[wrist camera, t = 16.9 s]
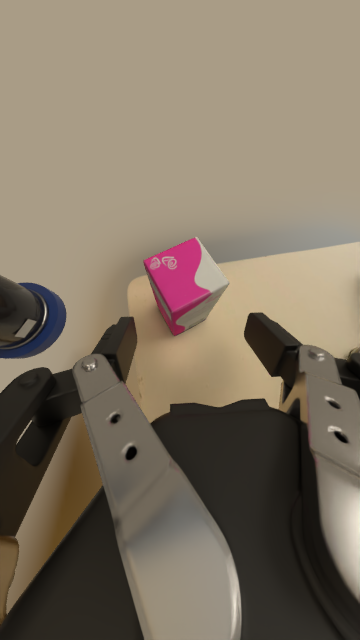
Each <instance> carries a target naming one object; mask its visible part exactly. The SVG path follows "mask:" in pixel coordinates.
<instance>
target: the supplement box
mask: <svg viewBox="0 0 360 640" xmlns="http://www.w3.org/2000/svg"><path fill="white" fill-rule="evenodd" d="M144 266H145V269H146V272H147V275H148V278H149V281H150V284H151V287H152V290H153V293H154V296H155V299H156V302H157V306H158V308H159V310H160V311H161V313H162V315H163V317H164V319H165V321H166V323H167V324H168V326H169V328H170V330H171V332H172V334H173V335H174V336H176V335H178V334H180V333H182V332H184V331H186V330H188V329H190V328H191V327H193V326H195V325H197V324H199V323H200V322H202V321H204V320H205V319H206V318H207V316H208V314H209V313H210V311H211V310H212V309H213V307H214V306H215V304H216V303H217V301H218V300H219V298H220V297H221V295H222V294H223V292H224V291H225V289H226V288H227V286H228V285H229V281H228V280H227V278H226V277H225V276H224V274H223V273H222V272H221V270H220V269H219V268H218V266H217V265H216V263H215V262H214V261H213V259H212V258H211V256H210V255H209V253H208V252H207V251H206V249H205V248H204V246H203V245H202V243H201V242H200V241H199V239H198V238H197V237H195V238H193V239H190V240H188V241H186V242H184V243H181V244H179V245H177V246H175V247H173V248H170V249H168V250H166V251H164V252H162V253H159V254H157V255H155V256H152V257H150V258H148V259H146V260H144Z"/></svg>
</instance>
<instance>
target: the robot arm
mask: <svg viewBox="0 0 360 640" xmlns="http://www.w3.org/2000/svg"><path fill="white" fill-rule="evenodd" d="M48 318H49V306H48V304H47V301H46V300H45V298H44V297H43V296H42V295H40V294H39V293H37V292H35V291H33V290H30V289H27V288H25V287H23V286H21V285H19V284H17V283H15V282H13V281H11V280H9V279H7V278H5V277H3V276H1V275H0V349H15V348H19V347H22V346H25V345H27V344H28V343H30V342H32V341H33V340H34V339H36V338H37V337H38V336H39V335H40V334H41V332H42V331H43V330H44V328H45V326H46V324H47V322H48ZM244 337H245V340H246V341H247V343H248V344H249V346H250V347H251V348H252V350H253V351H254V353H255V354H256V355H257V357H258V358H259V360H260V361H261V363H262V364H263V365H264V367H265V368H266V370H267V371H268V373H269V374H270V375H271V377H277V376H281V377H282V379H283V381H282V383H281V392H280V401H279V409H275V408H272V407H269V406H268V404H267V402H266V400H265V399H248V400H240V401H237V402H235V403H232V404H229V405H226V406H224V407H213V406H208V405H203V404H198V403H181V404H170V412H169V413H166V414H164V415H162V416H160V417H158V418H157V419H155V420H154V421H153V422H152V423H149V421H148V420H147V418H146V417H145V415H144V413H143V412H142V410H141V409H140V407H139V405H138V404H137V402H136V401H135V399H134V398H133V396H132V394H131V393H130V391H129V390H128V388H127V386H126V385H125V383H126V380H127V376H128V373H129V370H130V366H131V363H132V359H133V356H134V352H135V349H136V345H137V333H136V328H135V322H134V318H133V317H121V318H120V320H119V322H118V323H117V324H116V325H112V326H111V327H109V328H108V329H107V330H106V332H105V333H104V335H103V336H102V338H101V340H100V341H99V343H98V344H97V346H96V347H95V349H94V350H93V352H92V353H91V355H88V356H85V357H83V358H82V359H80V360H79V361H78V362H76V364H75V365H74V366H73V369H70V370H66V371H63V372H59V373H55V374H52V372H51V371H50V370H49V369H48V368H44V367H41V368H36V369H33V370H29V371H27V372H25V373H23V374H21V375H20V376H18V377H17V378H16V379H14V380H13V381H12V382H11V383H10V384H9V385H8V386H7V387H6V388H5V389H4V390H3V391H2V392H1V393H0V640H360V353H358V352H356V353H352V354H351V355H350V356H349V358H348V359H347V360H343V359H337V358H334V357H333V356H332V355H331V354H330V353H328V352H327V351H325V350H323V349H321V348H319V347H316V346H312V345H303V344H301V343H300V342H299V341H298V340H297V339H296V338H294V337H293V336H292V335H291V334H290V333H288V332H287V331H286V330H285V329H284V328H283V327H281V326H280V325H279V324H278V323H276V322H274V321H272V320H270V319H269V318H268V317H267V316H266V315H265V314H263V313H250V314H249V316H248V319H247V323H246V327H245V331H244ZM80 413H82V414H83V418H84V421H85V424H86V427H87V431H88V435H89V438H90V441H91V445H92V448H93V452H94V455H95V459H96V462H97V466H98V469H99V472H100V476H101V479H102V483H103V486H102V487H101V489H100V490H99V491H98V493H97V494H96V495H95V496H94V498H93V499H92V500H91V502H90V503H89V505H88V506H87V507H86V508H85V510H84V511H83V513H82V514H81V515H80V517H79V518H78V519H77V521H76V522H75V523H74V525H73V526H72V527H71V529H70V530H69V531H68V533H67V534H66V535H65V537H64V538H63V539H62V541H61V542H60V544H59V545H58V546H57V548H56V549H55V550H54V552H53V553H52V554H51V556H50V557H49V558H48V560H47V561H46V562H45V564H44V565H43V566H42V568H41V569H40V571H39V572H38V573H37V574H36V576H35V577H34V578H33V580H32V581H31V582H30V584H29V585H28V587H27V588H26V589H25V591H24V592H23V593H22V595H21V596H20V597H19V599H18V600H17V601H16V603H15V604H14V606H13V607H12V609H11V610H10V612H9V613H8V615H7V614H6V602H7V594H8V591H9V588H10V586H11V584H12V581H13V579H14V575H15V569H16V566H17V561H18V555H19V544H18V541H17V539H16V538H15V536H16V534H17V532H18V530H19V527H20V525H21V523H22V521H23V519H24V517H25V515H26V512H27V510H28V508H29V506H30V504H31V502H32V500H33V498H34V495H35V493H36V491H37V489H38V487H39V485H40V482H41V481H42V478H43V476H44V474H45V472H46V470H47V468H48V466H49V464H50V461H51V459H52V457H53V455H54V453H55V451H56V449H57V447H58V444H59V442H60V440H61V438H62V436H63V434H64V431H65V430H66V427H67V425H68V423H69V421H70V419H71V417H72V416H75V415H78V414H80ZM30 420H32V422H31V424H30V425H29V427H28V428H27V430H26V431H25V433H24V434H23V436H22V437H21V439H20V440H19V442H18V443H17V441H18V439H19V437H20V435H21V434H22V432H23V431H24V429H25V428H26V426H27V425H28V423H29V422H30ZM16 443H17V445H16Z"/></svg>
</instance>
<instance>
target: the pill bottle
mask: <svg viewBox="0 0 360 640" xmlns="http://www.w3.org/2000/svg"><path fill="white" fill-rule="evenodd" d="M356 352H358V353H360V347H359V348H356V349H354V350H353V351H352V352H351V354H352V353H356ZM351 354H350V355H351Z"/></svg>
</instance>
